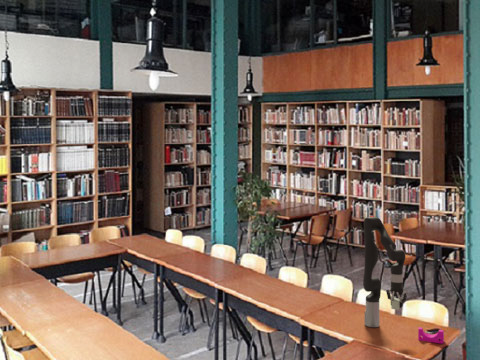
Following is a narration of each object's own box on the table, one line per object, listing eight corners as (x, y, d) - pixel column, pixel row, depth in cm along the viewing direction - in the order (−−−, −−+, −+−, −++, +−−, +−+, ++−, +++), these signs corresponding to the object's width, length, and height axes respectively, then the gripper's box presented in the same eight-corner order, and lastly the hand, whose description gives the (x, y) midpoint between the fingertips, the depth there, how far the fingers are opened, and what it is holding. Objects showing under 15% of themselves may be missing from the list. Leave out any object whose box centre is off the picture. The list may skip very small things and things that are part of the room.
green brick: (391, 308, 349) (391, 301, 349) (394, 305, 357) (394, 297, 356) (398, 309, 347) (398, 301, 346) (401, 306, 354) (401, 298, 354)
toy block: (443, 340, 350) (444, 329, 350) (443, 343, 345) (443, 331, 344) (419, 337, 357) (419, 326, 357) (418, 340, 351) (418, 328, 351)
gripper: (383, 280, 353) (383, 306, 353) (405, 283, 344) (405, 310, 344) (388, 278, 359) (388, 303, 359) (409, 281, 349) (409, 307, 350)
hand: (396, 306), depth 352 cm, fingers closed on green brick, 5 cm apart
